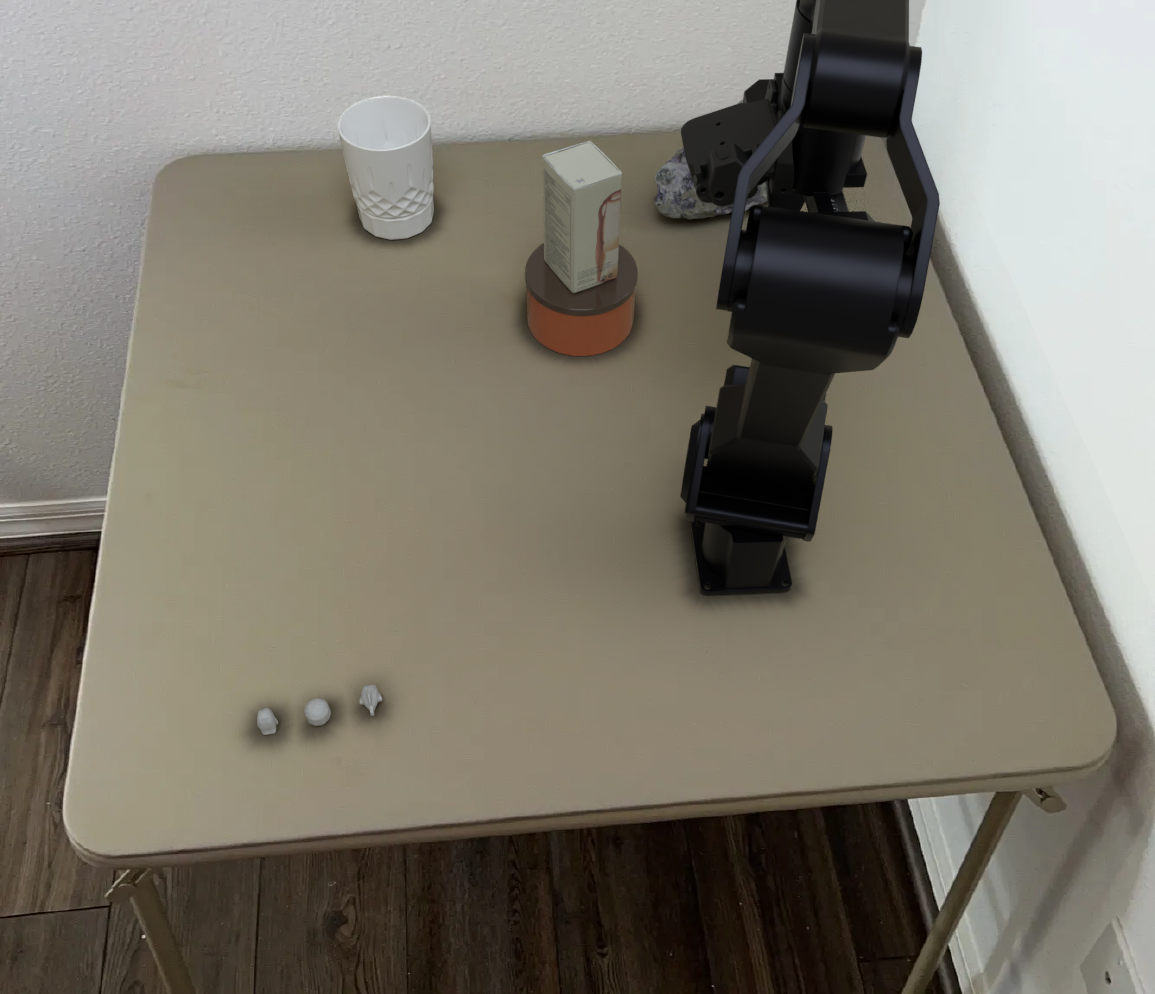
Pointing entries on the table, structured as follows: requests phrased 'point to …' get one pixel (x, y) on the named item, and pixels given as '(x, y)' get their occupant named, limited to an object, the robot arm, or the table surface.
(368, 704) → the game pieces
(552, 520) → the table surface
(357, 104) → the white cup
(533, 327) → the jar
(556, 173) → the cream cardboard box
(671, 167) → the mineral rock
